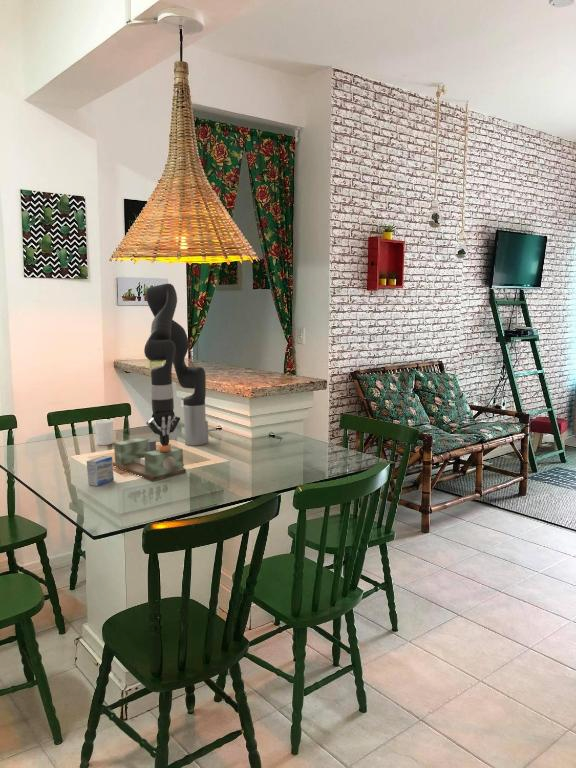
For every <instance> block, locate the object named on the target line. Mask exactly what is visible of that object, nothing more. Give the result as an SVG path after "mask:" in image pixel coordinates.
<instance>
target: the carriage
mask: <svg viewBox="0 0 576 768" xmlns="http://www.w3.org/2000/svg"><path fill="white" fill-rule="evenodd" d="M155 450H157V442H156V440H154V439H151V440H150V439H149V441H147V452H150V451H155ZM140 464H142V465H145V458H140Z"/></svg>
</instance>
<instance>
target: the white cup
mask: <svg viewBox="0 0 576 768" xmlns="http://www.w3.org/2000/svg"><path fill="white" fill-rule="evenodd" d="M94 431H95V438H96V444H97V445H98V446H108V445H112V444H114V420H113V419H98V420H94Z"/></svg>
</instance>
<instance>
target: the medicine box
mask: <svg viewBox="0 0 576 768" xmlns="http://www.w3.org/2000/svg"><path fill="white" fill-rule="evenodd" d="M86 471H87V472H86V473H87V482H88V483H87V484H88V485H89V486H94V487H99V486H102V485H105V484H107V483H110V482H113V481H114V480H115V478H114V467H113V457H112V456H109V455H101V456H99V457H95V458H92V459H89V460H86ZM112 480H113V481H112Z"/></svg>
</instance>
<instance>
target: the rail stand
mask: <svg viewBox="0 0 576 768" xmlns="http://www.w3.org/2000/svg"><path fill="white" fill-rule="evenodd" d="M147 441H150V439H148V438H145V437H137V438H133V439H132V438H131V439H126V440H123V441H117V442H116V441H115V442H113V446H114V462H113V466H116V467H118V468H121V469H123V470H122V471H124V470H126V471H128V472H127V473H129V472H131V473H133V474H132V475H134V474H136V475H135V476H137V475H139V476H142V477H144V478H143V479H145V478H146V479H145V480H147V479H148V480H147V481H150V482H155V481H160V480H163V479H167V478H170V477H175V476H180V475H183V474H186V473H187V469H186V468H184V453H183V452H184V451H183V448H180V447H176V446H171V451H169V452H160V451H159V449H156V450H155V451H150V452H147ZM140 458H145V465H142V464H140ZM116 467H115V468H116ZM118 468H117V469H118ZM121 469H120V470H121ZM126 471H125V472H126ZM131 473H130V474H131ZM139 476H138V477H139ZM142 477H141V478H142Z"/></svg>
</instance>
